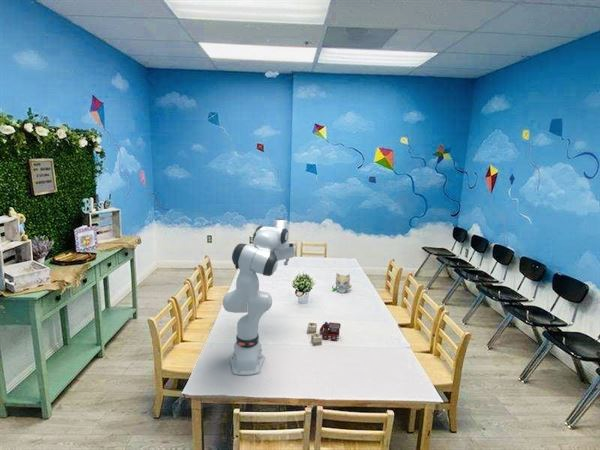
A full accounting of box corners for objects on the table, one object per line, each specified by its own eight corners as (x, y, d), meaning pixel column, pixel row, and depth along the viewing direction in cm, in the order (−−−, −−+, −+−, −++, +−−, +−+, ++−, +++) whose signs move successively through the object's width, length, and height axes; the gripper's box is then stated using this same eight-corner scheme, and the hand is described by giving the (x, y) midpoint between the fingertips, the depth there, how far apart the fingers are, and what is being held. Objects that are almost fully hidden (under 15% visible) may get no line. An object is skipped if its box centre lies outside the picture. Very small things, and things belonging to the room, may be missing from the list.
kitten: (331, 293, 297) (332, 275, 294) (333, 288, 307) (334, 270, 303) (350, 295, 294) (351, 277, 290) (351, 290, 303) (352, 272, 300)
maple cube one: (321, 345, 224) (322, 337, 223) (313, 345, 223) (313, 338, 222) (318, 340, 229) (319, 332, 228) (311, 341, 228) (311, 333, 226)
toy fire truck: (320, 333, 237) (321, 318, 235) (340, 336, 235) (341, 320, 232) (318, 339, 230) (319, 323, 228) (339, 341, 228) (340, 326, 226)
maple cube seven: (315, 334, 236) (315, 326, 234) (307, 333, 236) (307, 326, 235) (316, 330, 240) (316, 323, 239) (308, 329, 241) (308, 322, 240)
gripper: (268, 249, 218) (268, 271, 222) (296, 243, 231) (295, 264, 234) (262, 246, 223) (262, 268, 226) (290, 240, 235) (289, 261, 239)
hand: (279, 266), depth 230 cm, fingers open, 8 cm apart
